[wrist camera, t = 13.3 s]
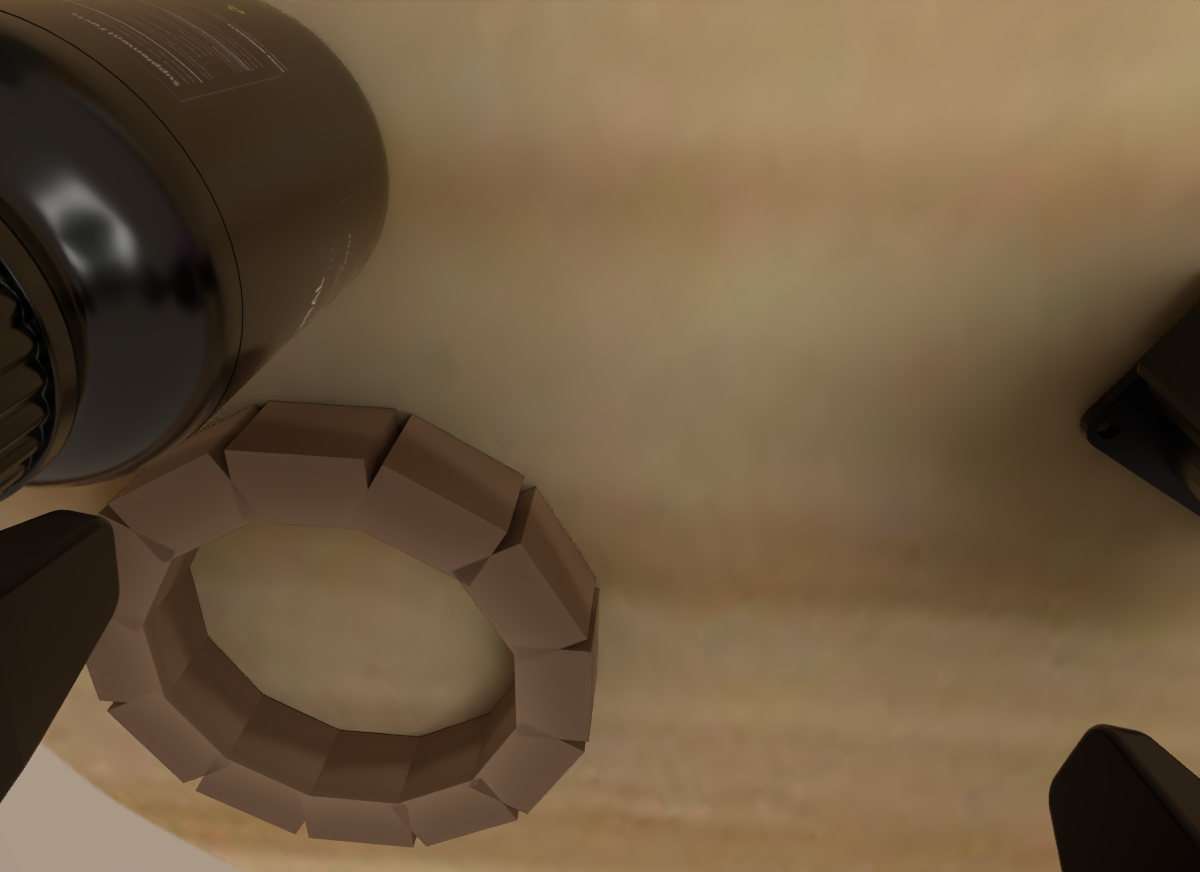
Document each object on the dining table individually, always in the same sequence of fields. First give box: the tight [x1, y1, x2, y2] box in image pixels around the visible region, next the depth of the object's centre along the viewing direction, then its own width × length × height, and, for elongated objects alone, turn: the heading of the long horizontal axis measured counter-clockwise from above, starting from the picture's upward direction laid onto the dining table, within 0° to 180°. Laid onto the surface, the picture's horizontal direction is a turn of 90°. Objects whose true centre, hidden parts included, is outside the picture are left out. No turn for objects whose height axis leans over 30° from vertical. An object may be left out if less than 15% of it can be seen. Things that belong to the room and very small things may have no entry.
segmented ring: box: [86, 401, 599, 847], centre depth 24 cm, size 14×14×2 cm
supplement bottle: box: [0, 0, 388, 501], centre depth 14 cm, size 7×7×12 cm
